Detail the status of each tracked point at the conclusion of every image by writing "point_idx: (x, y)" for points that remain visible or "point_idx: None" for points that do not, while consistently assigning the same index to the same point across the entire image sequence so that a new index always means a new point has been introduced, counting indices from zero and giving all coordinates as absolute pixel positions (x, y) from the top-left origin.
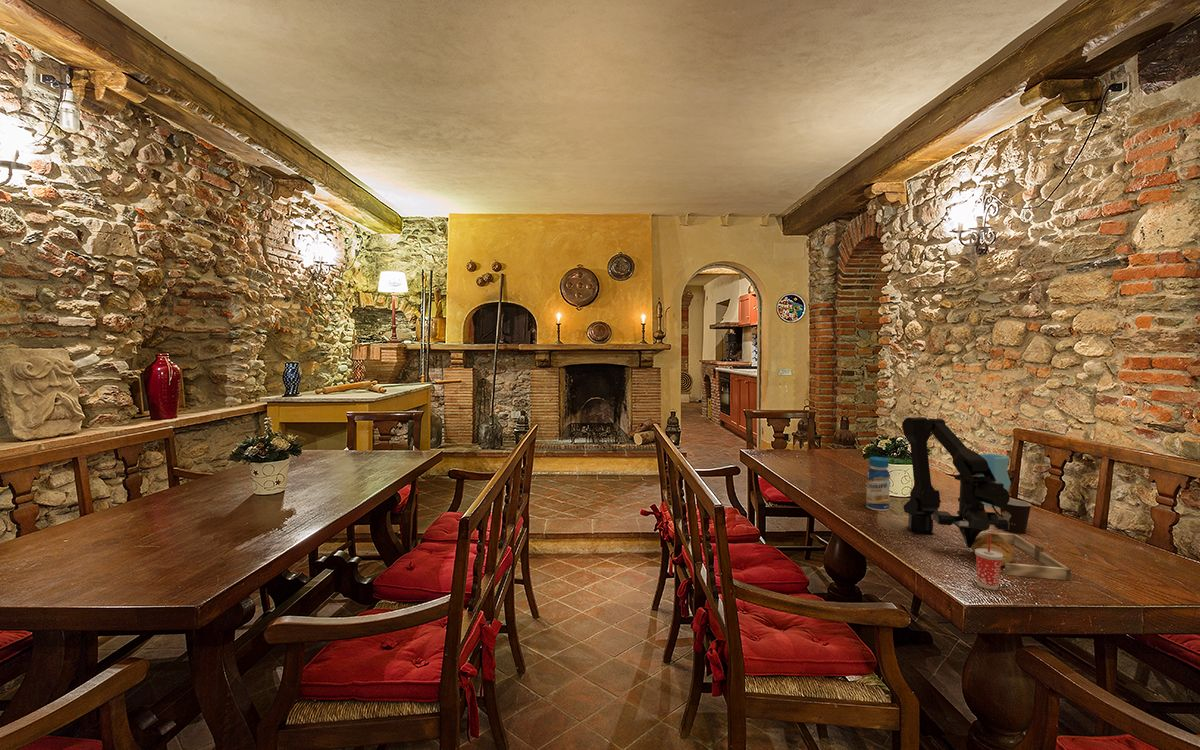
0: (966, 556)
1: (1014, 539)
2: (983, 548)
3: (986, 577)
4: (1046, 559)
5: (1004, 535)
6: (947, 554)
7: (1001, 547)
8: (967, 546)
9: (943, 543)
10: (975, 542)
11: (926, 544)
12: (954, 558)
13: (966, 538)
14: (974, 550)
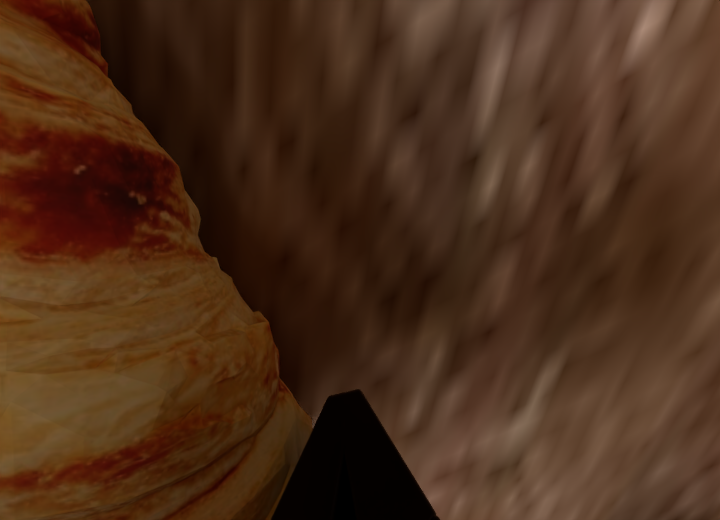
0: (374, 269)
1: None
2: (136, 334)
3: None
4: None
5: None
6: (578, 229)
7: None
8: (368, 406)
9: (510, 495)
10: (261, 501)
11: (677, 412)
12: (540, 114)
13: (423, 505)
14: (283, 388)
